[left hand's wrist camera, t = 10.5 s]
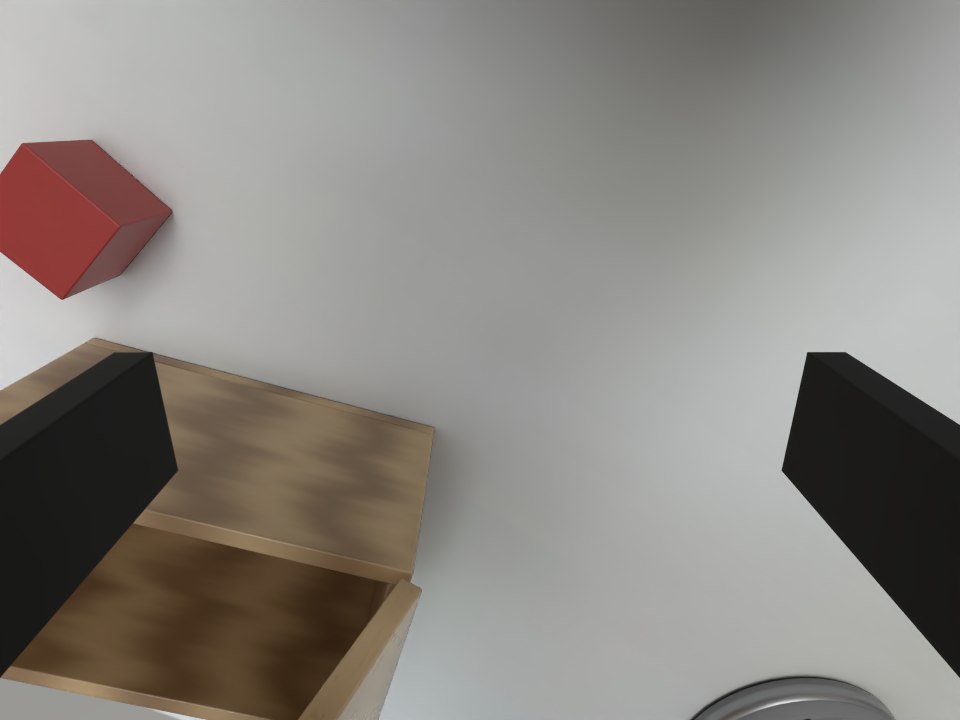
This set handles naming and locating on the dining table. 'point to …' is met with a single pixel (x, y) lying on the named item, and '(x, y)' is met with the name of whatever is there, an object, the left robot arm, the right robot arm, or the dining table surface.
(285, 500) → the brown hollow rectangular box
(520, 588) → the dining table surface
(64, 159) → the block
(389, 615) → the lid
